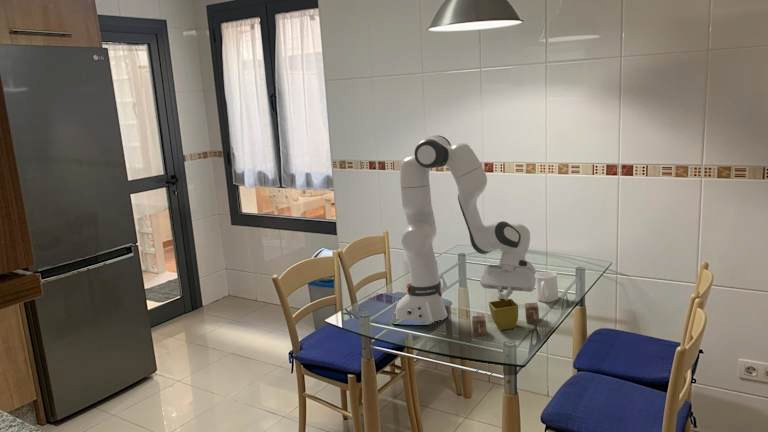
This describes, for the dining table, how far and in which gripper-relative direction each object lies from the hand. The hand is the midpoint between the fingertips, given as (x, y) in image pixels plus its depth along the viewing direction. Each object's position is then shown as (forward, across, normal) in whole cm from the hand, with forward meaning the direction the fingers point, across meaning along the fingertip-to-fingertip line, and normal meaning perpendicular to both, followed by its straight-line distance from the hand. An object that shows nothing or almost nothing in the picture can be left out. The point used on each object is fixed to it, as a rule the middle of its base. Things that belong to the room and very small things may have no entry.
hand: (502, 299), depth 208 cm
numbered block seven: (+1, +6, +14) cm, 16 cm away
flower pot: (+7, 0, +8) cm, 11 cm away
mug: (-14, +4, +29) cm, 33 cm away
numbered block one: (+13, -6, +2) cm, 15 cm away
